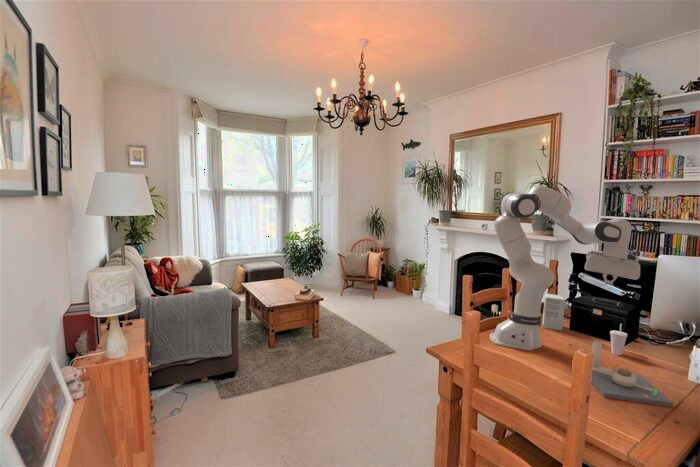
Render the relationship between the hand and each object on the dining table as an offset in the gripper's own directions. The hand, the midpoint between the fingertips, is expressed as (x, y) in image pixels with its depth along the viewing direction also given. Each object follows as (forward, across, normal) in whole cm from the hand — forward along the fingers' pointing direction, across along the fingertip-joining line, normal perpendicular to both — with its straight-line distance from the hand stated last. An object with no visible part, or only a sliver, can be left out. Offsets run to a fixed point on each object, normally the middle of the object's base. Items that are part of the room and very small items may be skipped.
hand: (608, 284), depth 161 cm
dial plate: (+39, +8, -26) cm, 48 cm away
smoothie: (+29, +9, +8) cm, 31 cm away
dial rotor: (+37, +7, -27) cm, 46 cm away
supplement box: (+26, -18, +31) cm, 44 cm away
